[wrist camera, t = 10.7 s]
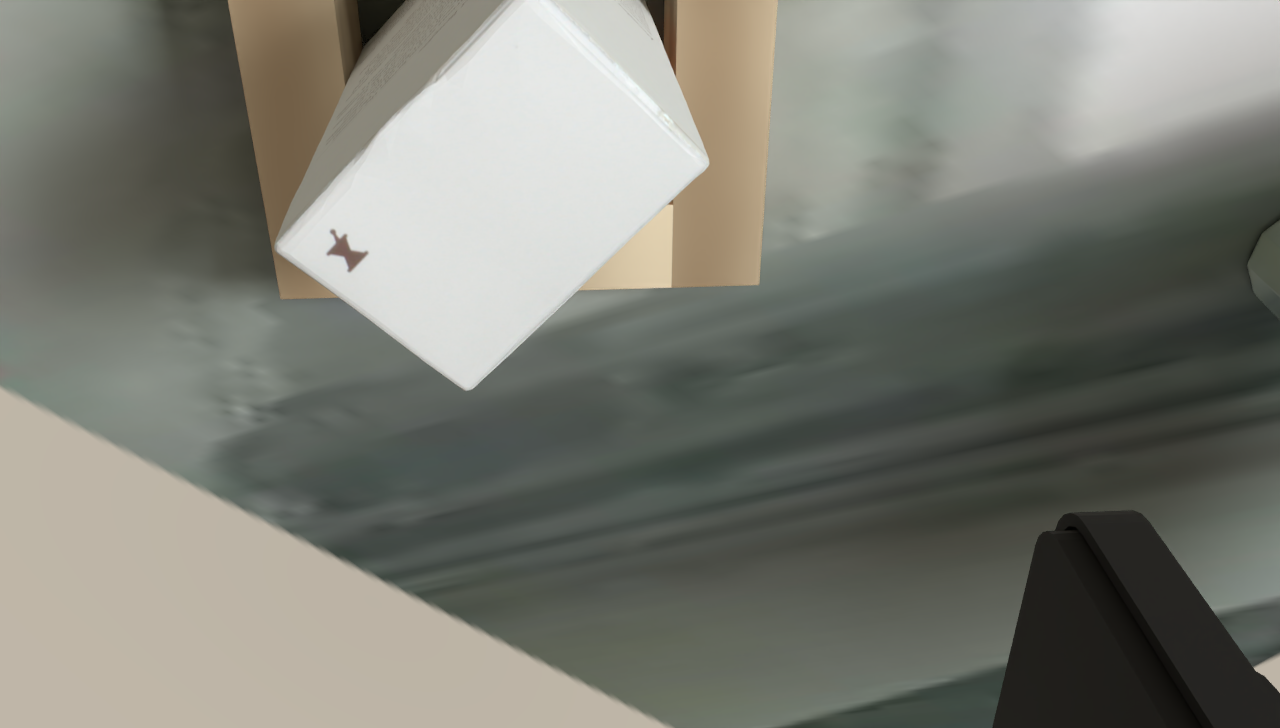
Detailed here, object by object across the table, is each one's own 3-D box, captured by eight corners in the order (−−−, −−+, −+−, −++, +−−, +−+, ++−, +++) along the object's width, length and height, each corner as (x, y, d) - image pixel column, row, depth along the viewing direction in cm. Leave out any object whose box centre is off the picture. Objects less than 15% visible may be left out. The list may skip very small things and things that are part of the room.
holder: (768, -255, 25) (794, -249, 23) (741, 236, 31) (758, 284, 29) (220, -256, 25) (183, -251, 22) (302, 248, 31) (280, 299, 28)
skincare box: (489, 160, 30) (461, 406, 20) (360, 46, 28) (256, 251, 18) (654, -7, 28) (721, 168, 18) (528, -141, 26) (519, -33, 16)
